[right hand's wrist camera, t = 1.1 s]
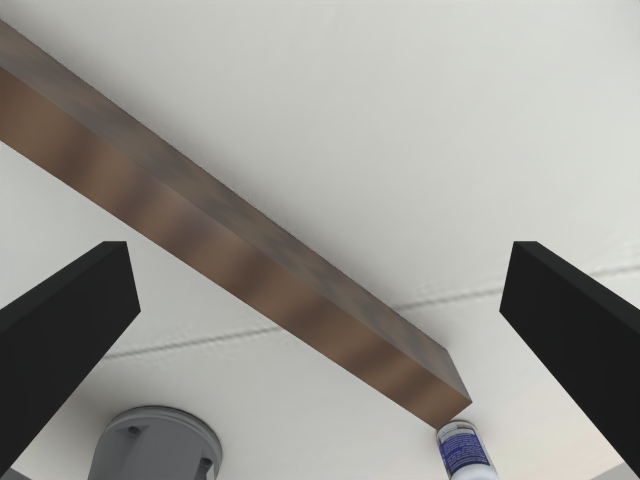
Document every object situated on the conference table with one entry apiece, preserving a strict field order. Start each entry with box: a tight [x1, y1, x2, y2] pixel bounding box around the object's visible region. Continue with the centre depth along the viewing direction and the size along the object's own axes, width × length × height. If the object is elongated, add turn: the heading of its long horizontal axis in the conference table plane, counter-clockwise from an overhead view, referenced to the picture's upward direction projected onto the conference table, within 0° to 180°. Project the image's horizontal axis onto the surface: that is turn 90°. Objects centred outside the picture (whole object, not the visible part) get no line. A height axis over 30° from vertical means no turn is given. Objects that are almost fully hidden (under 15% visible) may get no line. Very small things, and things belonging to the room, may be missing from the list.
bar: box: [0, 19, 473, 430], centre depth 32 cm, size 58×5×8 cm, turn 51°
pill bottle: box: [437, 422, 499, 480], centre depth 42 cm, size 5×5×9 cm
